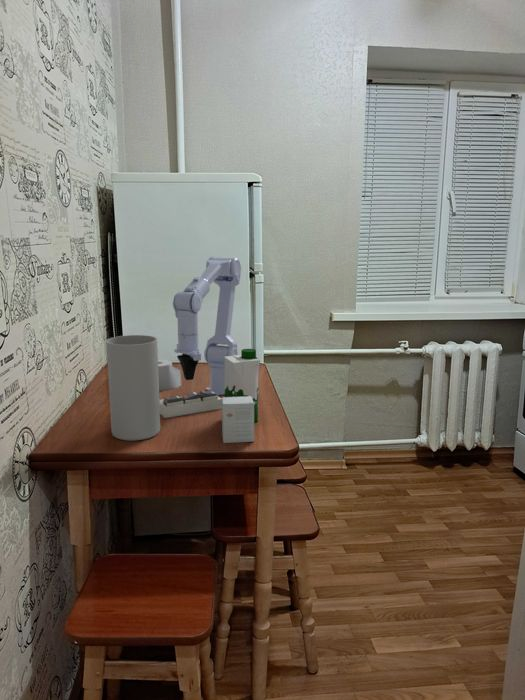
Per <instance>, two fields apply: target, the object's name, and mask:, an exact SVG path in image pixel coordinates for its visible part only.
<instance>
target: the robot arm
mask: <svg viewBox="0 0 525 700" xmlns="http://www.w3.org/2000/svg"><path fill="white" fill-rule="evenodd" d="M205 265H206V266H205V267H206V268H205V270H204V271H203V272H202V274H201V276H198V277H193V279H192V281H190V283H189V284H187V286H186V287H185V289H183V291H178V292H177V293H175V295H173V296H174V297H173V301H172V307H173V310H174V312H175V313H174V314H175V315H174V316H175V318H176V319H177V344H176V348H175V349H174V353H176V354H178V355H177V357H176V358H177V360H178V361H179V363H180V365H181V369H182V373H183V376H184V379H185V380H186V381H191V380H194V378H195V373H196V368H197V366H198V363H199V361H202V354H201V352H200V348H199V323H198V322H199V320H198V319H199V316H198V315H199V314H198V313H199V312H200V311H201V308H202V304H203V302H204V301H203V300H204V299H205V297H206V296H207V295H208V294H209V292H210V290H211V289H210V288H211V284H213V283H214V284H216V285H217V286H219V293H218V304H217V311H216V320H215V332H214V335H213V336H212V337H210V338H209V339H207V343H206V347H205V349H204V352H203V353H204V354H203V355H204V360H205V362H206V363H207V366H209V372H210V373H209V374H210V375H209V377H210V382H209V384H210V385H209V386H210V387H205V391H211V392H215V393H216V394H217V396H222V395H225V365H224V357H227V356H233V355H239V354H238V353H239V352H238V343H237V341H235V340H234V339H233V338H232V337H231V331H232V321H233V312H234V304H235V303H234V302H235V293H236V286H238V285H239V284H240V280H241V272H242V266H241V262H240V260H239V258H238V257H237V256H236V257H221V256H220V257H214V256H210V257H209V258H208V259H207V260H206V263H205ZM179 353H180V354H179Z"/></svg>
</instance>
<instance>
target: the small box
mask: <svg viewBox="0 0 525 700" xmlns="http://www.w3.org/2000/svg"><path fill="white" fill-rule="evenodd" d="M221 398H222V409H221V426H222V427H221V430H222V431H221V434H222V441H223V442H222V443H223V444H233V443H251V442H252V443H254V442H255V422H254V402H253V399H252V396H246V397H225V396H224V397H223V396H222V397H221Z"/></svg>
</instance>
